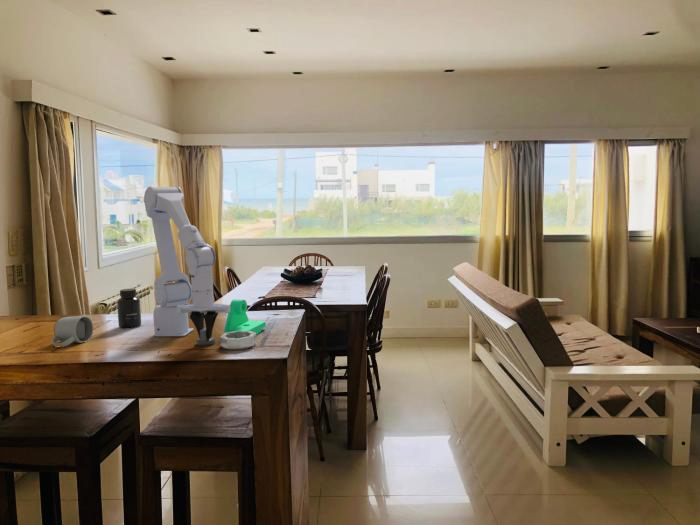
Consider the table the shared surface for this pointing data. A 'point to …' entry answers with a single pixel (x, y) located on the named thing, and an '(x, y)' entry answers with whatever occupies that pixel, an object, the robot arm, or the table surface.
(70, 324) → the ceramic mug
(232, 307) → the camera mount
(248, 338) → the white ring bowl
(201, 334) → the cap
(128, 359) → the table surface
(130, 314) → the supplement bottle
